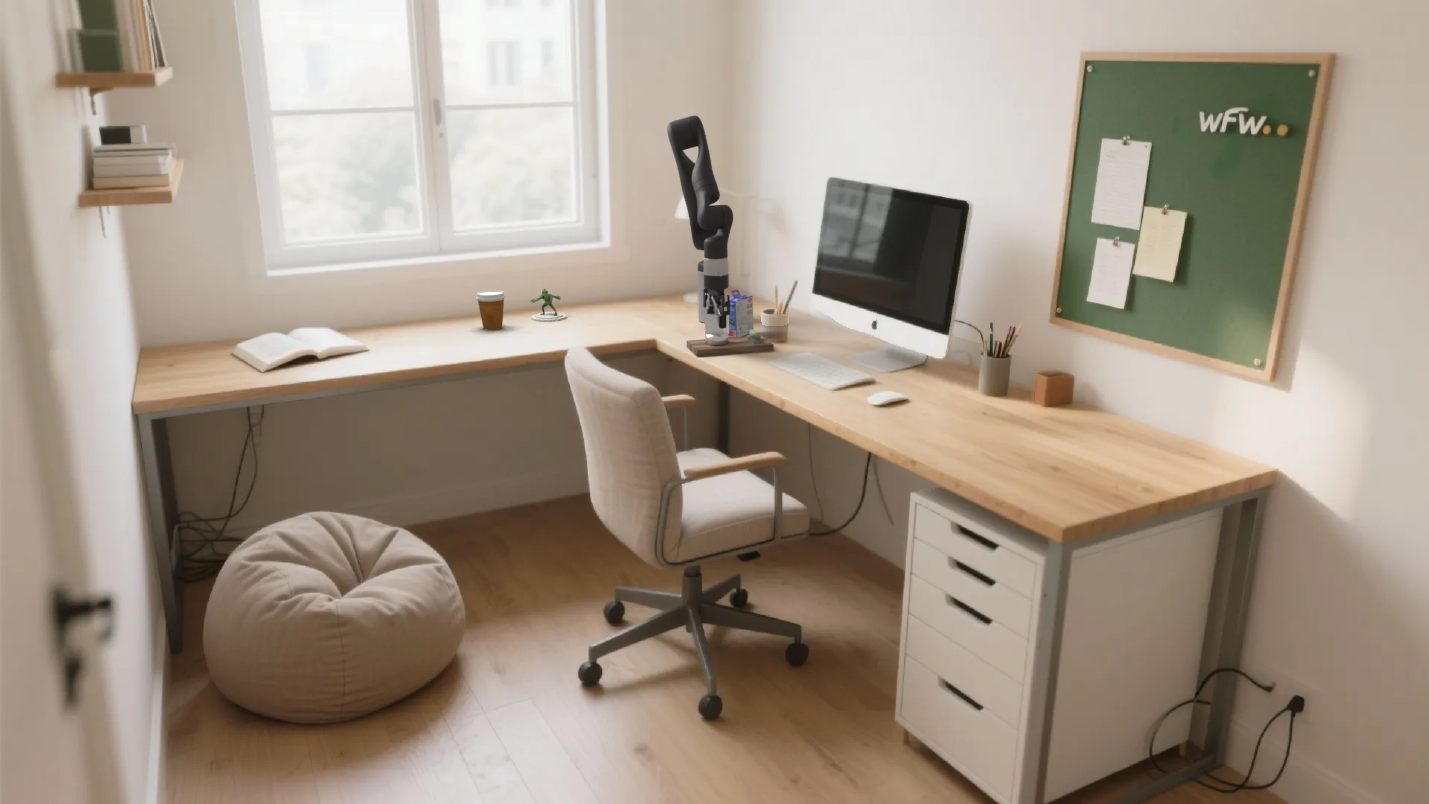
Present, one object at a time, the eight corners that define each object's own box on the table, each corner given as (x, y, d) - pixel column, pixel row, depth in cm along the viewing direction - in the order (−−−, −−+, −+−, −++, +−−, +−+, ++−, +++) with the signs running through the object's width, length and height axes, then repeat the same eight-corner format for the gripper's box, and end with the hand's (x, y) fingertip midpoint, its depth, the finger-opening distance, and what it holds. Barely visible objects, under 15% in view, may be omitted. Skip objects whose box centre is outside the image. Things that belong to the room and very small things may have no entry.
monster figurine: (558, 313, 395) (556, 285, 392) (572, 319, 385) (570, 290, 382) (526, 317, 389) (524, 288, 386) (539, 323, 379) (537, 294, 377)
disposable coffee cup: (513, 326, 375) (510, 291, 371) (493, 332, 367) (490, 296, 364) (492, 323, 380) (489, 289, 376) (472, 329, 372) (469, 293, 368)
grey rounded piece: (705, 346, 335) (705, 316, 333) (705, 340, 342) (704, 312, 339) (729, 345, 335) (729, 316, 333) (728, 340, 342) (728, 311, 340)
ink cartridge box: (740, 330, 364) (740, 287, 360) (754, 332, 361) (754, 288, 357) (723, 336, 357) (722, 292, 352) (737, 338, 353) (736, 293, 349)
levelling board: (686, 346, 343) (686, 331, 342) (761, 341, 349) (761, 325, 348) (696, 356, 331) (696, 340, 330) (773, 350, 337) (773, 334, 336)
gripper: (695, 270, 337) (696, 322, 342) (714, 277, 325) (715, 331, 329) (717, 268, 340) (718, 319, 345) (737, 275, 328) (738, 328, 332)
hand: (716, 325), depth 337 cm, fingers open, 8 cm apart
